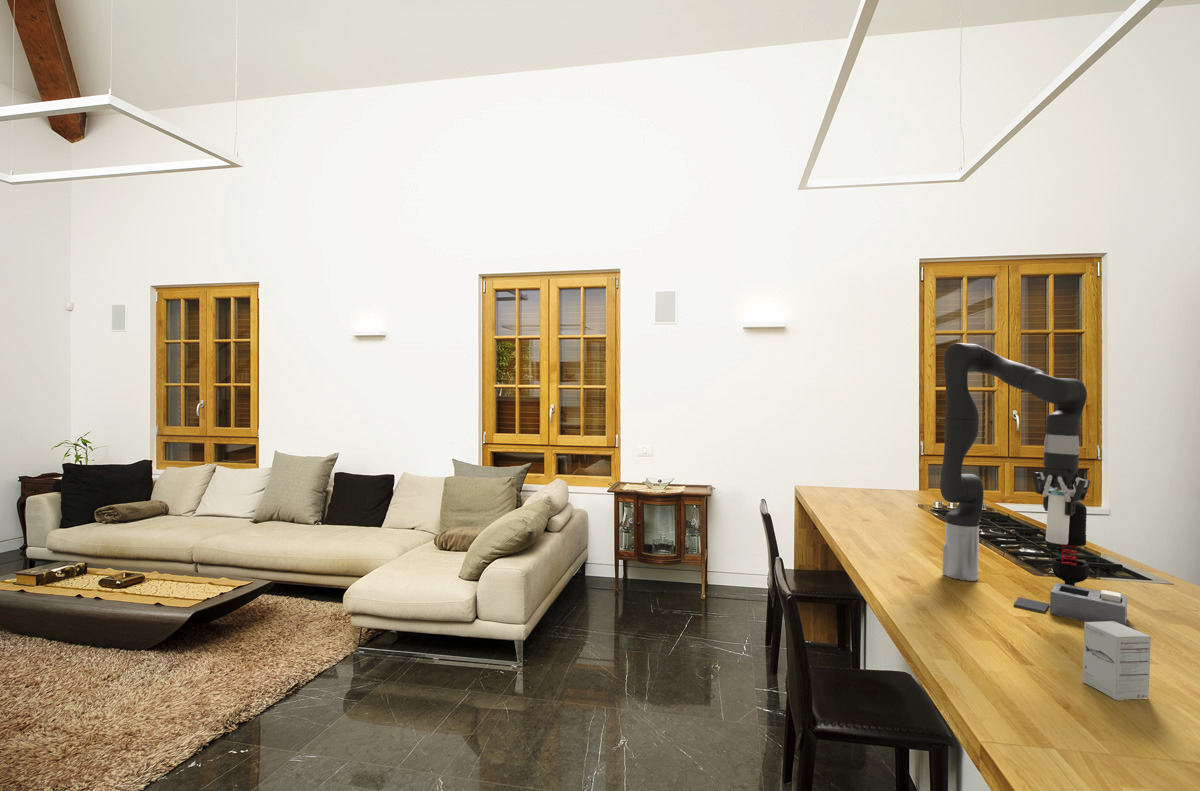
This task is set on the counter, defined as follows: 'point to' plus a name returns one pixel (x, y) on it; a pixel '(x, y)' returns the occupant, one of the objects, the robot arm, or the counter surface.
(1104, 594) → the off-white cube
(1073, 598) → the housing
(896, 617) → the counter surface
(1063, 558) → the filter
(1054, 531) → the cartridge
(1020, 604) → the mat
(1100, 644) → the supplement box
